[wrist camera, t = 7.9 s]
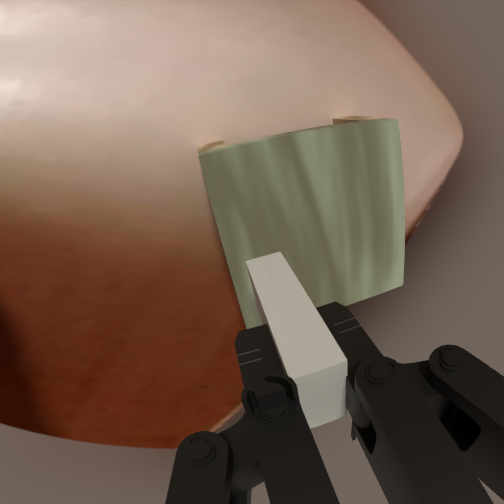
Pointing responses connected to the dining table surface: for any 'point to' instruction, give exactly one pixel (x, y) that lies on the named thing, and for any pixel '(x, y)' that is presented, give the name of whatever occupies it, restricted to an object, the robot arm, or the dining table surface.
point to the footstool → (313, 208)
